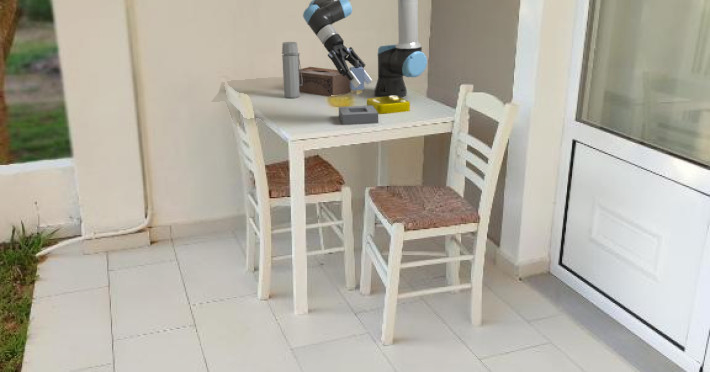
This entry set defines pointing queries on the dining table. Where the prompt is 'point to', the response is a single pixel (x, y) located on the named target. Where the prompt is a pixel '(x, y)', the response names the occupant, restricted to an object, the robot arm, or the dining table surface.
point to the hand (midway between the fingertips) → (364, 84)
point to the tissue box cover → (323, 81)
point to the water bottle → (291, 69)
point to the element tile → (389, 104)
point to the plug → (359, 75)
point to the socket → (358, 115)
